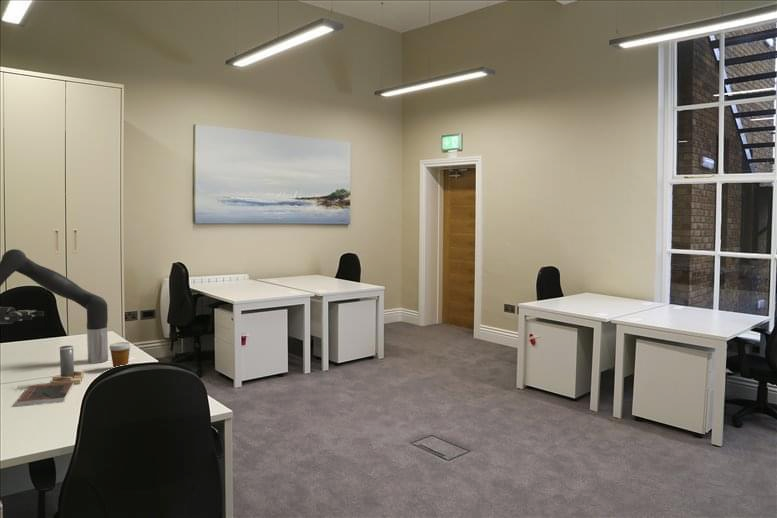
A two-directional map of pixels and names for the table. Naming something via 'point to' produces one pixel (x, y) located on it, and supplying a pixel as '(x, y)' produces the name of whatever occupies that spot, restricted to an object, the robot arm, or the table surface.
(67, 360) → the domed lid canister
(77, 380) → the stand
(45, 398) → the picture frame
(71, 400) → the table surface
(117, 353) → the disposable coffee cup
